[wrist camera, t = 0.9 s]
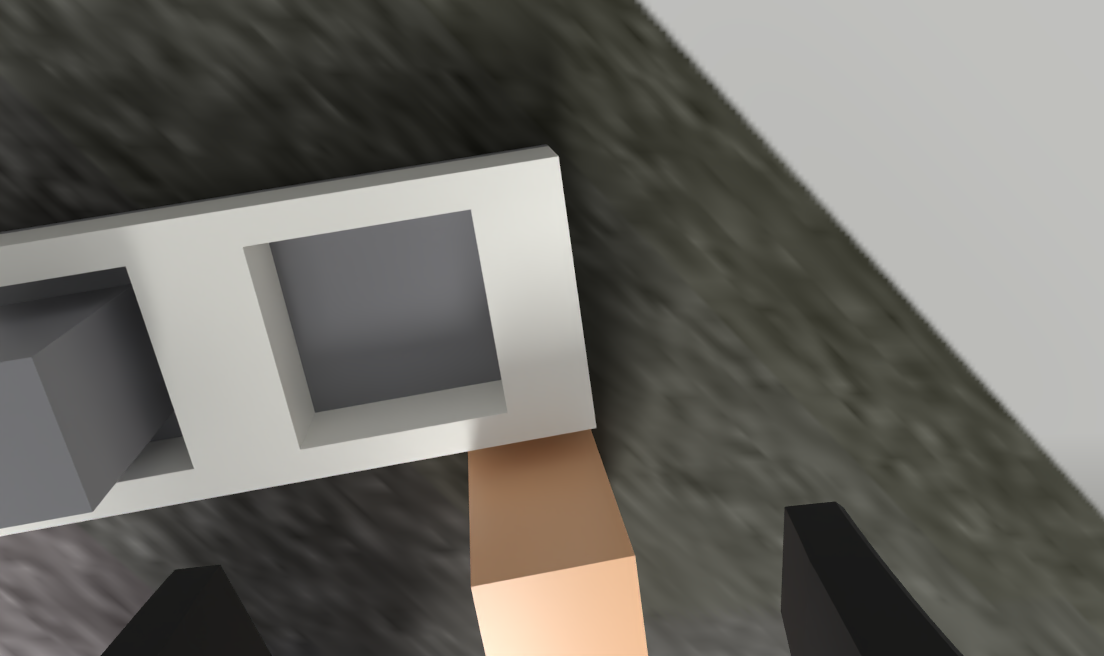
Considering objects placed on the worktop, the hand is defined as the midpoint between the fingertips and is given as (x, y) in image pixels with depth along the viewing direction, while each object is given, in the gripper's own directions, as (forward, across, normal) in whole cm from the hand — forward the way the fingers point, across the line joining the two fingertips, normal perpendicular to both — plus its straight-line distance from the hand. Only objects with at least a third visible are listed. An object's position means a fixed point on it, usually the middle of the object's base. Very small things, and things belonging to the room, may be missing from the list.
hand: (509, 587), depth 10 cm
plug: (+13, +1, +11) cm, 17 cm away
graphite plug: (+13, +14, +4) cm, 19 cm away
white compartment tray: (+14, +9, +4) cm, 17 cm away
